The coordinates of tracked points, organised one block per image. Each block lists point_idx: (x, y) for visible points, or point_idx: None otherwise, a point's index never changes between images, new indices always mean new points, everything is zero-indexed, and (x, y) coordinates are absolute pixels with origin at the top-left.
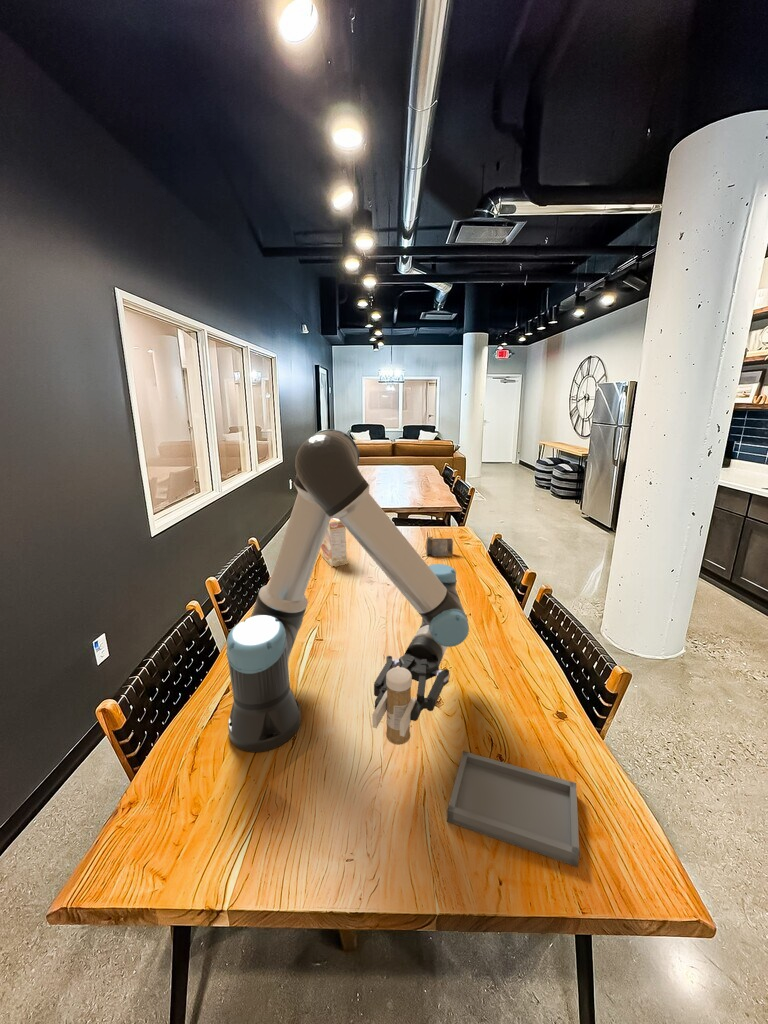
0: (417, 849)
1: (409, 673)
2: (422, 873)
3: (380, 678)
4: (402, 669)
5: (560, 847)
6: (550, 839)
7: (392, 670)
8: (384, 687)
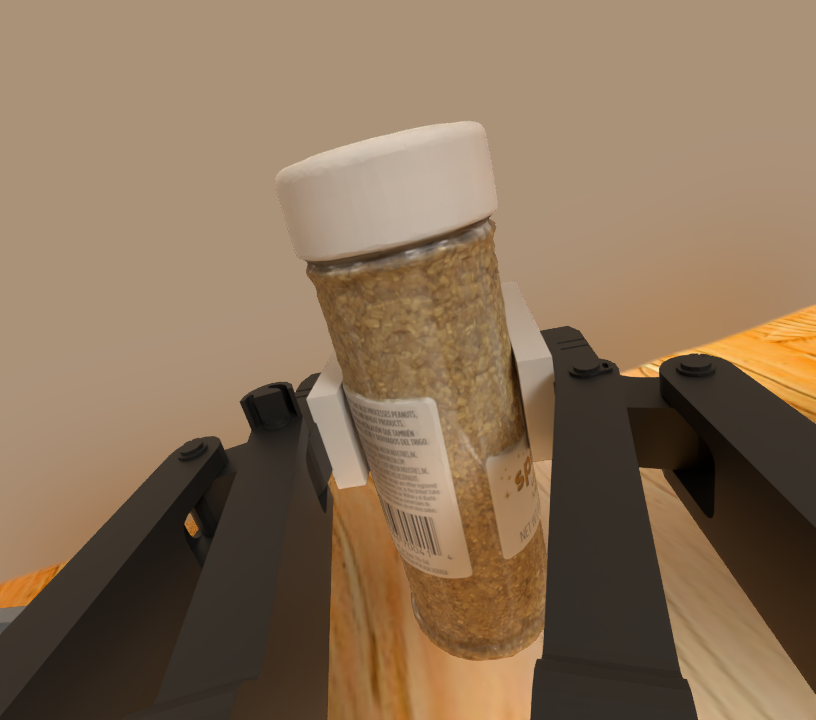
0: (372, 529)
1: (289, 166)
2: (355, 500)
3: (743, 413)
4: (356, 144)
5: (1, 610)
6: (11, 620)
7: (441, 123)
8: (588, 364)
